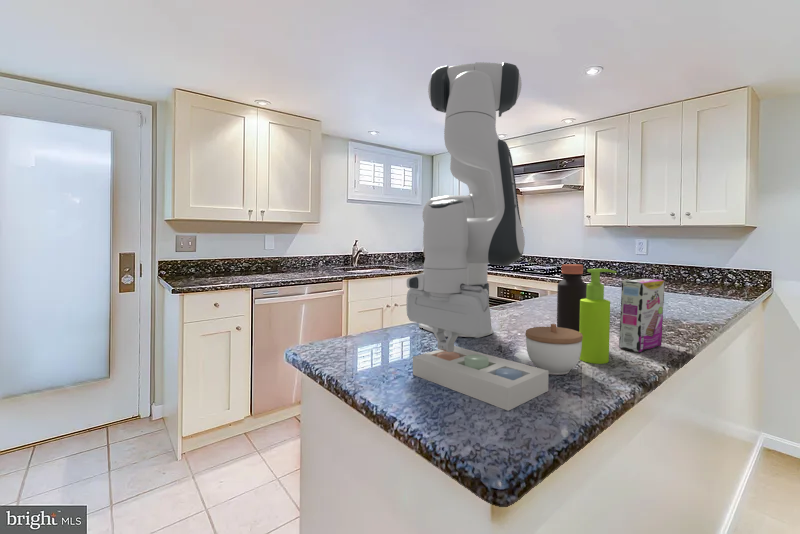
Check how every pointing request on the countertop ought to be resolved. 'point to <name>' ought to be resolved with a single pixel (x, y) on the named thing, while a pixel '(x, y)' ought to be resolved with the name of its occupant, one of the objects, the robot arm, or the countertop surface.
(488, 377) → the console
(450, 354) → the button terracotta
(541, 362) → the lidded jar
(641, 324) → the candy bar box
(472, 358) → the button sage
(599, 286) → the soap dispenser
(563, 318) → the bottle
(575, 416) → the countertop surface
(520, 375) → the button slate
